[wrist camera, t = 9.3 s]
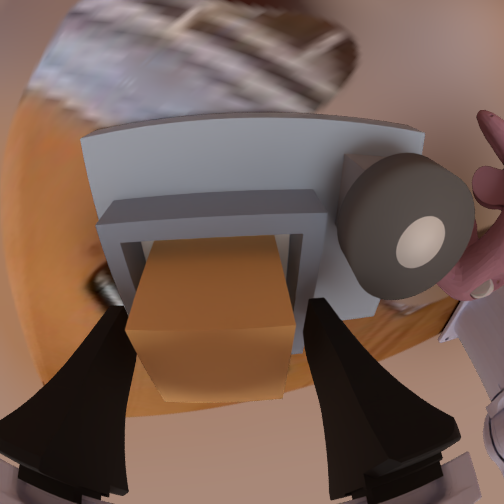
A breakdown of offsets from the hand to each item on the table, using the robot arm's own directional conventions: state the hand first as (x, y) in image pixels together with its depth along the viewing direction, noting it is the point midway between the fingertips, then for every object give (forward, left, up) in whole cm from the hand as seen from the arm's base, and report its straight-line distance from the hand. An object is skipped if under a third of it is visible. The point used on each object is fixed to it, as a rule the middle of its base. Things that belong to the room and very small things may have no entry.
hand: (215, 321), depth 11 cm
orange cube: (0, 0, -3) cm, 3 cm away
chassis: (-2, -1, -4) cm, 5 cm away
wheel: (-7, -4, -3) cm, 8 cm away
